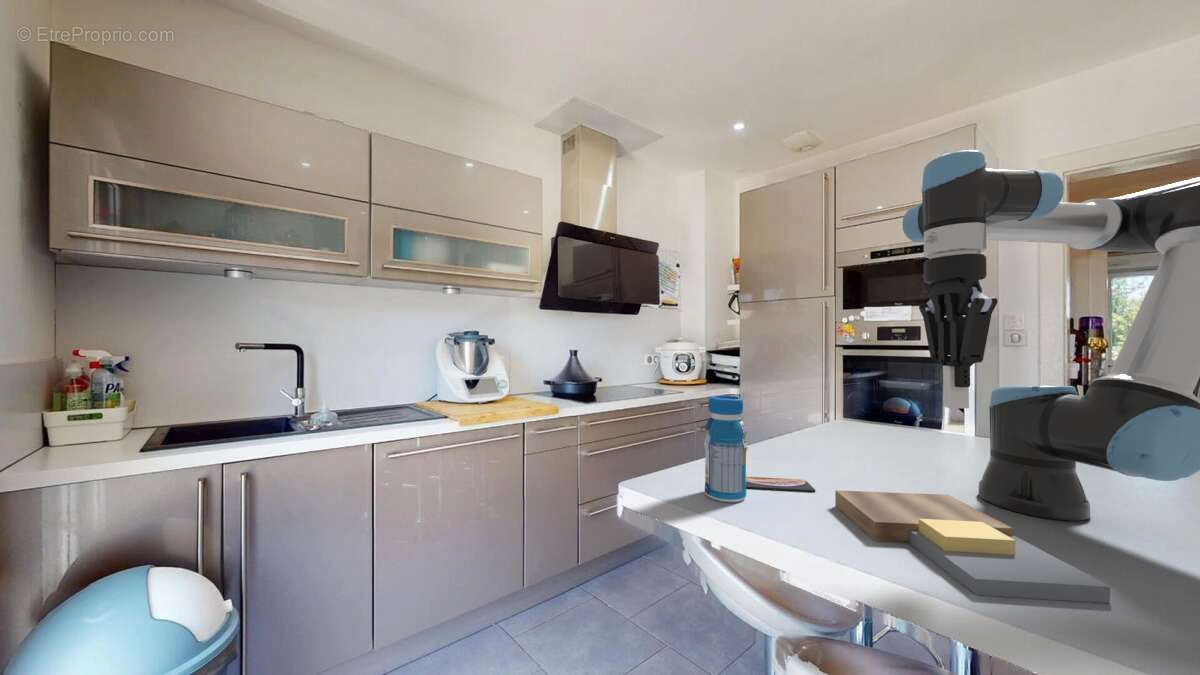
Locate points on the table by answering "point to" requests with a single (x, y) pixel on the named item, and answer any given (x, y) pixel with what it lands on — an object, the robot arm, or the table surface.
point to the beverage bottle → (725, 450)
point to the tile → (966, 536)
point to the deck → (906, 512)
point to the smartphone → (778, 484)
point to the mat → (1015, 573)
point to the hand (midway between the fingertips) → (956, 407)
